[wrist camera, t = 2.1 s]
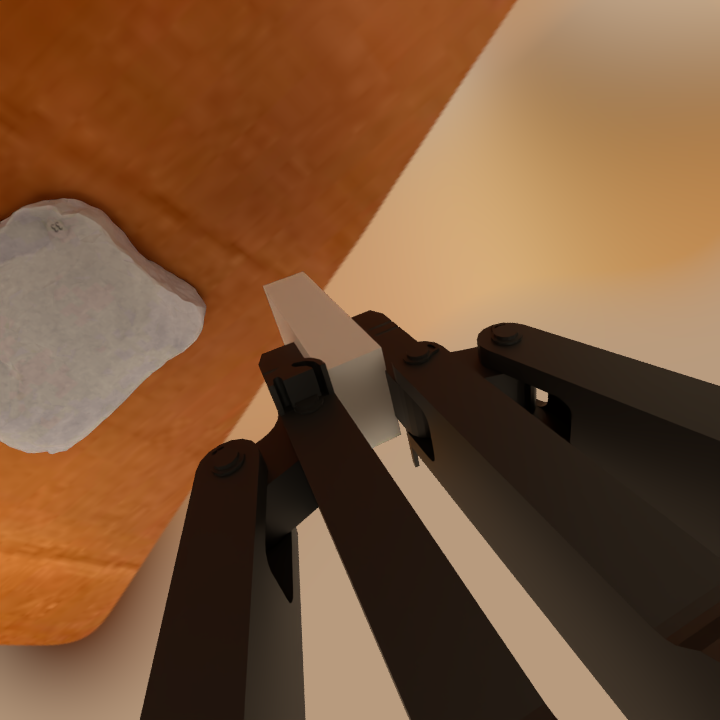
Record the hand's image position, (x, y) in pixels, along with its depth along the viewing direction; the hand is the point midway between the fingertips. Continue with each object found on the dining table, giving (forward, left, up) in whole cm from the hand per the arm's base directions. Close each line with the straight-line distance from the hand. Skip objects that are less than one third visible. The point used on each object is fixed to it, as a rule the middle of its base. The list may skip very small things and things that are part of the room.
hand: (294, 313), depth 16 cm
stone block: (0, -10, -12) cm, 16 cm away
